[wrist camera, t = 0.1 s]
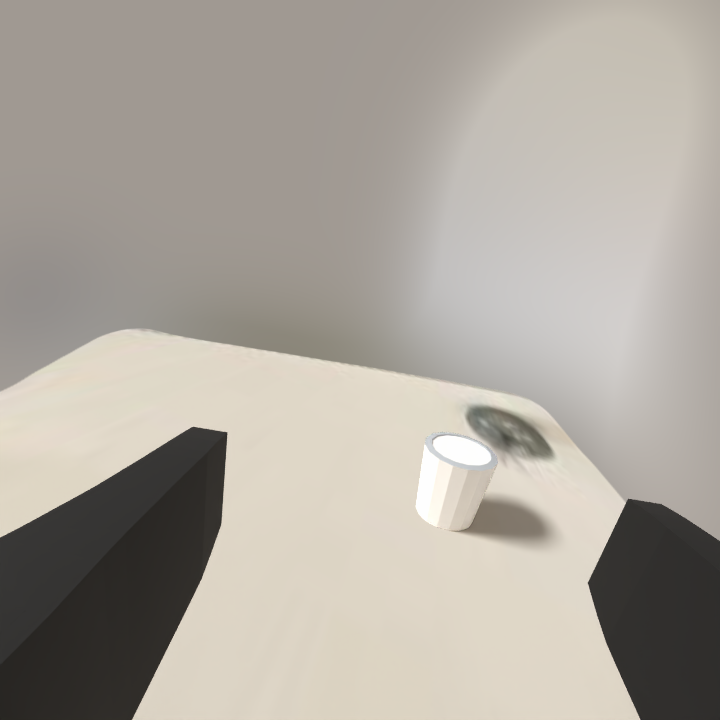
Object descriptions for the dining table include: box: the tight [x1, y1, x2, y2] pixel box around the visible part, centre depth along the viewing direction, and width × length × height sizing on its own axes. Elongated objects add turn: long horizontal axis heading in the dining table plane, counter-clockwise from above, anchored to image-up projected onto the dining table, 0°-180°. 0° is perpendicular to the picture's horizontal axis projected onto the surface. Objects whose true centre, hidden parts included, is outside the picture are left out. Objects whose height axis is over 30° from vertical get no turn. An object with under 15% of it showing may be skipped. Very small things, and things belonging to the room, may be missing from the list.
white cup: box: [416, 432, 498, 531], centre depth 45 cm, size 7×7×7 cm
